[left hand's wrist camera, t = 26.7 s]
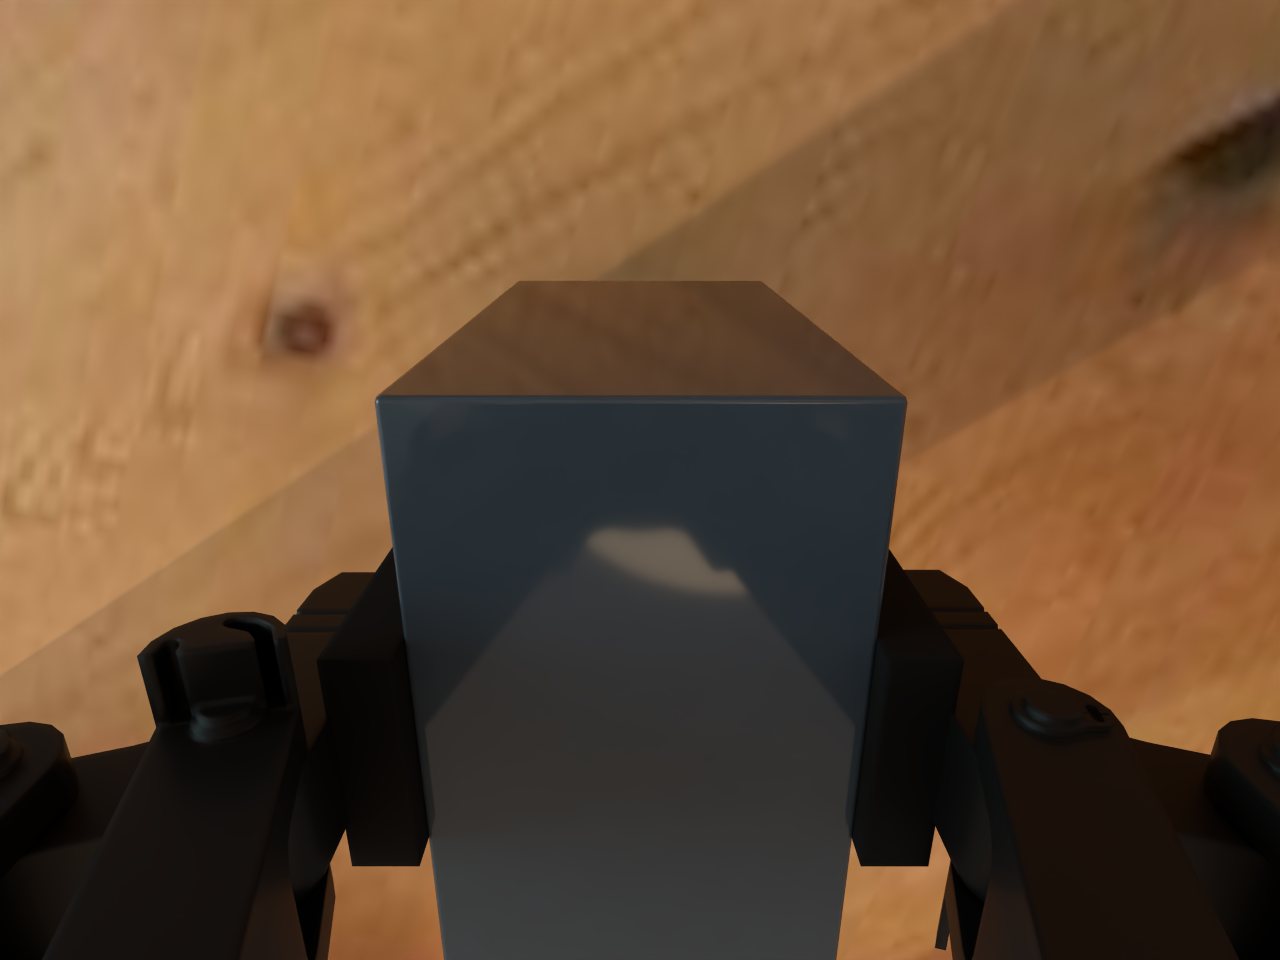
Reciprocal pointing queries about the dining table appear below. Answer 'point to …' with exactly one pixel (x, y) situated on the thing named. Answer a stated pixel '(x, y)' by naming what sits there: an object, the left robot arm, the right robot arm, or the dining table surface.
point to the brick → (640, 617)
